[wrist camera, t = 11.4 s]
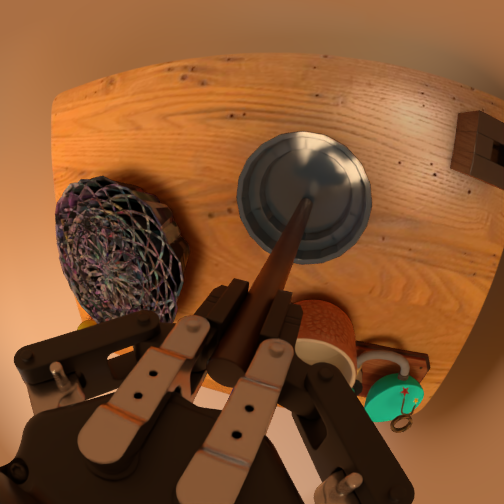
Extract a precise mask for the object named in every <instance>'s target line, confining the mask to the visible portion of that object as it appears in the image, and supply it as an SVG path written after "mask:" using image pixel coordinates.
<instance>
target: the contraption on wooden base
mask: <svg viewBox="0 0 504 504" xmlns="http://www.w3.org/2000/svg"><path fill="white" fill-rule="evenodd" d="M355 343H356V354H357V376H356V380H355V383H354V385H353V387H352V390H353V391H354V393H355V395H356V396H361V397H366V402H365V406H364V409H365V410H366V412H367V413H368V415H369V417H370V418H371V420H372V421H373V422H384V421H390V420H392V422H391V429H392V431H393V432H396V433H400V432H404V431H405V430H407V429H409V428H410V426H411V425H412V418H411V416H410V415H412V413H413V411H414V409H415V408H416V407H417V406H418V405H419V404H420V403H421V401H422V399H423V396H424V391H423V389H422V387H421V385H420V382H421V381H422V379H423V378H424V377H425V375H426V374H427V372H428V371H429V369H430V363H429V357H428V354H423V353H417V352H411V351H406V350H400V349H395V348H389V347H384V346H379V345H374V344H369V343H364V342H360V341H355ZM410 412H411V413H410ZM409 413H410V414H409ZM401 419H408V420H409V422H408V424H407V425H406V426H404V427H402V428H395V427H394V425H395V423H396V422H397V421H399V420H401Z"/></svg>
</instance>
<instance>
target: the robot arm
mask: <svg viewBox="0 0 504 504" xmlns="http://www.w3.org/2000/svg"><path fill="white" fill-rule="evenodd" d="M248 288H249V282H247V281H243V280H239V279H235V278H234V279H233V280H232V282H231V283H230V284H229V286H228V287H227V286H223V285H221V286H219V287H217V288H215V289H213V291H212V292H211V293H210V295H209V296H208V297H207V298H206V300H205V301H204V302H203V303H202V305H201V306H200V307H199V308H198V310H197V311H196V312H195V314H194V315H189V316H185V317H183V318H181V319H180V320H179V321H178V322H177V323H164V322H160V319H159V316H158V315H157V314H156V313H155V312H153V311H149V310H140V311H136V312H133V313H130V314H127V315H124V316H121V317H118V318H115V319H111V320H108V321H105V322H102V323H99V324H96V325H93V326H89V327H86V328H83V329H80V330H77V331H73V332H70V333H67V334H64V335H60V336H57V337H54V338H51V339H47V340H44V341H41V342H37V343H34V344H31V345H27V346H24V347H22V348H21V349H19V350H18V351H17V352H16V354H15V356H14V363H15V365H16V367H17V369H18V371H19V373H20V374H21V377H22V379H23V381H24V383H25V384H26V386H27V389H28V393H29V398H30V402H31V405H32V409H33V413H34V416H33V417H32V418H31V419H30V420H29V421H28V422H27V424H26V426H25V428H24V431H23V435H22V440H21V444H20V447H19V450H18V452H17V454H16V456H15V458H14V459H13V460H12V461H11V462H10V463H8V464H6V465H4V466H2V467H0V504H304V502H303V500H302V498H301V496H300V495H299V493H298V491H297V489H296V487H295V485H294V483H293V481H292V480H291V478H290V476H289V474H288V472H287V470H286V468H285V466H284V464H283V462H282V460H281V458H280V456H279V454H278V452H277V450H276V448H275V447H274V445H273V444H272V442H271V441H270V440H269V439H268V437H267V436H266V433H267V430H268V427H269V425H270V422H271V420H272V417H273V414H274V411H275V409H276V406H277V403H278V404H279V405H281V406H283V407H285V408H286V409H288V410H290V411H292V417H293V419H294V421H295V423H296V426H297V428H298V430H299V433H300V435H301V437H302V439H303V442H304V444H305V446H306V448H307V450H308V453H309V455H310V457H311V459H312V461H313V463H314V465H315V468H316V470H317V472H318V474H319V476H320V478H321V481H322V483H321V484H320V485H319V486H318V487H317V489H316V490H315V493H314V501H315V504H411V503H412V502H413V499H414V488H413V486H412V484H411V482H410V481H409V479H408V477H407V476H406V474H405V472H404V471H403V469H402V468H401V466H400V464H399V463H398V461H397V460H396V458H395V456H394V455H393V453H392V452H391V450H390V448H389V447H388V445H387V444H386V442H385V440H384V439H383V437H382V436H381V434H380V433H379V431H378V429H377V428H376V426H375V425H374V423H373V421H372V420H371V418H370V417H369V415H368V413H367V412H366V410H365V409H364V407H363V406H362V404H361V402H360V401H359V399H358V398H357V396H356V395H355V393H354V391H353V390H352V388H351V387H350V385H349V384H348V382H347V380H346V379H345V377H344V376H343V374H342V373H341V371H340V370H339V369H338V368H337V367H336V366H334V365H332V364H330V363H326V362H318V363H315V364H313V365H309V364H307V363H306V362H304V361H302V360H301V359H300V358H299V357H298V356H297V354H296V352H295V345H296V341H297V337H298V333H299V329H300V325H301V320H302V316H303V310H302V307H301V305H298V304H294V303H291V299H292V294H293V293H292V292H287V291H283V290H279V289H278V291H277V293H276V296H275V298H274V301H273V303H272V305H271V308H270V310H269V313H268V315H267V317H266V320H265V322H264V325H263V327H262V329H261V332H260V334H259V340H258V345H257V352H256V354H255V356H254V358H253V360H252V362H251V364H250V366H249V368H248V370H247V372H246V374H245V376H241V377H240V378H239V380H238V382H237V384H236V386H235V388H234V389H233V391H232V393H231V395H230V397H229V399H228V401H227V402H226V404H225V406H224V408H223V410H217V409H209V408H202V407H198V406H196V405H194V404H193V401H194V399H195V397H196V395H197V393H198V391H199V389H200V387H201V385H202V383H203V381H204V379H205V377H206V375H207V373H208V372H207V370H206V364H207V361H208V360H209V358H210V356H211V355H212V353H213V351H214V350H215V348H216V346H217V345H218V343H219V341H220V340H221V338H222V336H223V335H224V333H225V331H226V330H227V328H228V326H229V324H230V323H231V321H232V319H233V318H234V316H235V314H236V312H237V311H238V309H239V307H240V306H241V304H242V302H243V300H244V299H245V297H246V295H247V294H248ZM130 346H133V348H134V351H131V352H128V353H126V354H123V355H120V356H117V357H115V358H112V359H109V360H107V358H108V356H109V355H110V354H111V353H113V352H116V351H119V350H122V349H124V348H127V347H130ZM117 388H118V389H117ZM114 389H117V391H116V392H114V393H110V394H107V395H104V396H100V397H97V398H94V399H90V398H93V397H96V396H98V395H101V394H104V393H106V392H109V391H112V390H114ZM87 399H90V400H87ZM85 400H86V401H85Z"/></svg>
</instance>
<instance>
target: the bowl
mask: <svg viewBox="0 0 504 504" xmlns="http://www.w3.org/2000/svg"><path fill="white" fill-rule="evenodd" d="M304 198H308V199H310V200H311V201H312V203H313V207H312V210H311V213H310V216H309V219H308V222H307V225H306V228H305V231H304V234H303V236H302V239H301V242H300V245H299V248H298V251H297V253H296V256H295V259H294V262H293V263H296V264H318V263H324V262H326V261H329V260H331V259H334V258H337V257H339V256H341V255H342V254H343V253H345V252H346V251H347V250H348V249H350V248H351V247H352V246H353V245H355V244H356V243H357V241H358V239H359V238H360V236H361V235H362V233H363V232H364V230H365V229H366V227H367V225H368V221H369V217H370V213H371V208H372V197H371V186H370V182H369V180H368V177H367V175H366V173H365V171H364V168H363V166H362V164H361V162H360V161H359V160H358V159H357V158H356V157H355V156H354V155H353V154H352V152H351V151H350V150H349V149H348V148H347V147H346V146H344V145H343V144H341V143H339V142H337V141H336V140H334V139H332V138H330V137H328V136H326V135H323V134H318V133H312V132H306V131H299V132H292V133H285V134H280V135H278V136H276V137H274V138H273V139H271V140H269V141H267V142H265V143H263V144H262V145H260V146H259V148H258V149H257V150H256V151H255V152H254V153H253V154H252V155H251V156H250V157H249V158H248V160H247V161H246V163H245V165H244V167H243V170H242V172H241V174H240V176H239V180H238V189H237V204H238V209H239V214H240V218H241V220H242V222H243V224H244V226H245V228H246V229H247V231H248V233H249V235H250V236H251V237H252V238H253V239H254V240H255V241H256V242H257V244H258V245H259V246H260V247H261V248H262V249H263V250H265V251H266V252H268V253H270V254H271V252H272V250H273V248H274V247H275V245H276V243H277V241H278V240H279V238H280V236H281V234H282V233H283V231H284V229H285V227H286V225H287V224H288V222H289V220H290V218H291V217H292V215H293V213H294V211H295V209H296V208H297V206H298V204H299V202H300V201H301V200H302V199H304Z"/></svg>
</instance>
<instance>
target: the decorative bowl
mask: <svg viewBox="0 0 504 504" xmlns="http://www.w3.org/2000/svg"><path fill="white" fill-rule="evenodd" d="M55 220H56V238H57V246H58V251H59V259H60V263H61V266H62V270H63V274H64V275H65V277H66V279H67V281H68V283H69V286H70V288H71V290H72V291H73V293H74V295H75V296H76V298H77V300H78V302H79V303H80V305H81V306H82V308H83V309H84V310H85V311H86V312H87V313H88V314H89V315H90V316H91V317H92V318H93V320H94V321H95V322H96V323H97V324H99V323H102V322H105V321H108V320H111V319H115V318H118V317H121V316H124V315H127V314H130V313H133V312H136V311H140V310H149V311H153V312H155V313H156V314H157V315H158V316H159V319H160V322H164V323H173V322H174V319H175V316H176V313H177V310H178V307H177V301H178V297H179V294H180V291H181V289H182V286H183V283H184V282H183V280H184V275H183V274H184V270H185V267H186V263H187V260H188V257H189V253H190V248H189V244H188V243H187V242H186V241H185V239H184V238H183V237H181V236H180V235H181V231H180V229H179V227H178V225H177V224H176V222H175V221H174V220H173V213H172V211H171V210H170V208H169V207H168V206H167V205H166V204H162V203H160V200H159V199H158V198H157V197H156V196H155V195H152V194H149V193H145V192H144V191H143V189H141V188H139V187H138V186H134V185H130V184H126V183H121V182H117V181H113V180H110V179H108V178H106V177H104V176H99V177H95V178H92V179H81V180H80V181H79V182H78V183H70V184H69V186H68V187H67V188H66V190H65V191H64V192H63V195H62V197H61V198H60V199H59V201H58V202H57V206H56V212H55Z"/></svg>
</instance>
